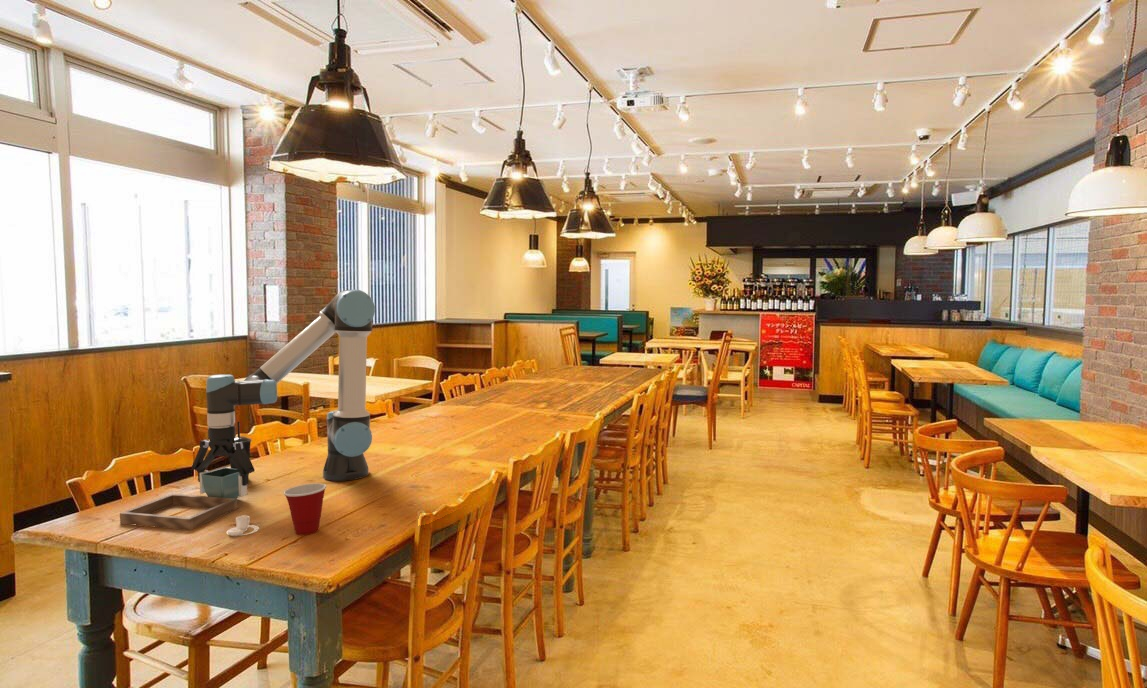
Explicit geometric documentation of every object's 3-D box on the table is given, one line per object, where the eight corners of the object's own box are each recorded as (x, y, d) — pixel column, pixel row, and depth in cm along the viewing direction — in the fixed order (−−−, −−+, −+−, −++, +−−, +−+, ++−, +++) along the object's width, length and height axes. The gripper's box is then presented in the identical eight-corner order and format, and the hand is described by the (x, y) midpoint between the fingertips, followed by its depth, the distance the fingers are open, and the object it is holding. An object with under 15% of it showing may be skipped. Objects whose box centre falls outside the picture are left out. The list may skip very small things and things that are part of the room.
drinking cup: (242, 483, 225) (240, 424, 224) (222, 482, 227) (220, 423, 225) (257, 477, 233) (255, 420, 231) (238, 476, 234) (236, 419, 233)
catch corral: (237, 508, 199) (237, 498, 199) (189, 530, 182) (189, 519, 181) (172, 503, 204) (172, 493, 204) (120, 523, 186) (119, 513, 186)
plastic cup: (296, 523, 187) (295, 481, 186) (334, 525, 186) (333, 482, 185) (276, 537, 176) (274, 492, 175) (315, 539, 175) (314, 494, 174)
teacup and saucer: (234, 540, 175) (234, 525, 175) (217, 534, 179) (216, 519, 179) (265, 530, 183) (265, 515, 182) (248, 525, 187) (247, 510, 187)
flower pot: (201, 503, 205) (200, 474, 204) (226, 495, 213) (225, 467, 212) (222, 506, 201) (221, 477, 201) (246, 498, 209) (245, 470, 209)
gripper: (265, 425, 206) (267, 493, 208) (195, 421, 211) (197, 487, 213) (249, 430, 199) (251, 500, 201) (176, 426, 204) (179, 494, 206)
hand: (223, 494), depth 207 cm, fingers open, 13 cm apart
